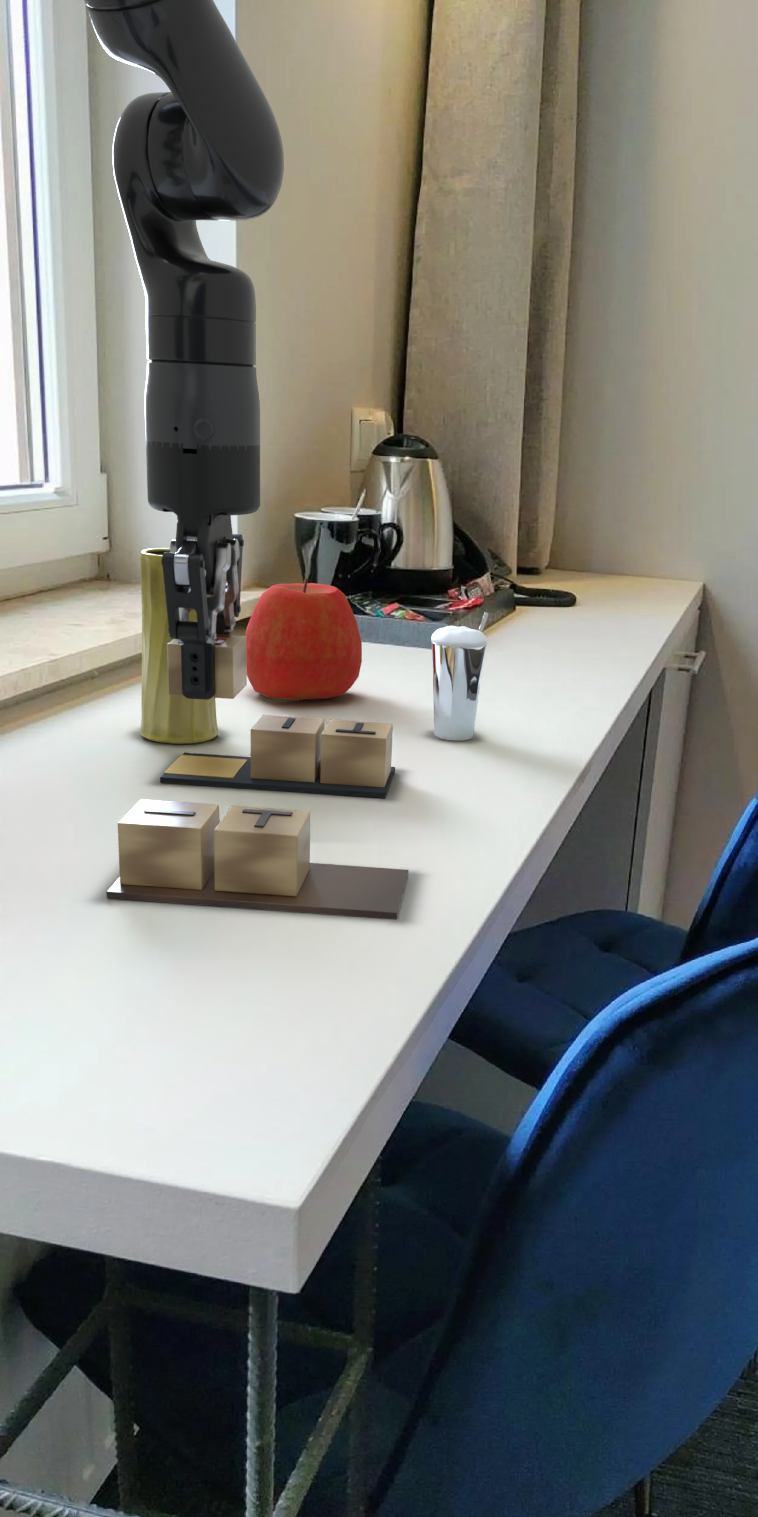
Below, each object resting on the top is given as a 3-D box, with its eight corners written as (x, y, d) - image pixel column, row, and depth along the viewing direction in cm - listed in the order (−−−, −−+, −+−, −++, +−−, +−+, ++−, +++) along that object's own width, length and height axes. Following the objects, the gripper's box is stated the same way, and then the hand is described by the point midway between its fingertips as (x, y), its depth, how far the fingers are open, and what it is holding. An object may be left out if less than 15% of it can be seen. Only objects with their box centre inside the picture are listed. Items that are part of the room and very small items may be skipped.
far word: (159, 782, 94) (158, 725, 92) (184, 757, 100) (183, 703, 99) (385, 798, 93) (387, 741, 92) (395, 772, 100) (397, 718, 98)
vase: (141, 725, 109) (135, 546, 104) (217, 726, 110) (215, 548, 105) (138, 744, 103) (132, 555, 98) (219, 745, 104) (217, 558, 99)
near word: (106, 898, 73) (103, 827, 71) (141, 856, 79) (139, 790, 78) (397, 919, 72) (400, 848, 71) (408, 875, 79) (411, 809, 77)
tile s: (168, 695, 93) (166, 642, 92) (184, 681, 97) (183, 630, 96) (233, 699, 93) (233, 646, 91) (246, 685, 97) (246, 634, 96)
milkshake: (498, 737, 112) (507, 617, 108) (453, 745, 108) (460, 622, 105) (460, 725, 115) (467, 608, 111) (415, 734, 111) (420, 613, 107)
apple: (301, 715, 115) (302, 590, 111) (216, 693, 121) (215, 574, 117) (384, 698, 123) (388, 581, 119) (300, 678, 129) (302, 566, 125)
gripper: (175, 430, 95) (180, 667, 102) (116, 437, 82) (126, 709, 88) (278, 436, 95) (278, 673, 101) (236, 444, 82) (238, 716, 88)
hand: (207, 688), depth 95 cm, fingers closed on tile s, 4 cm apart
